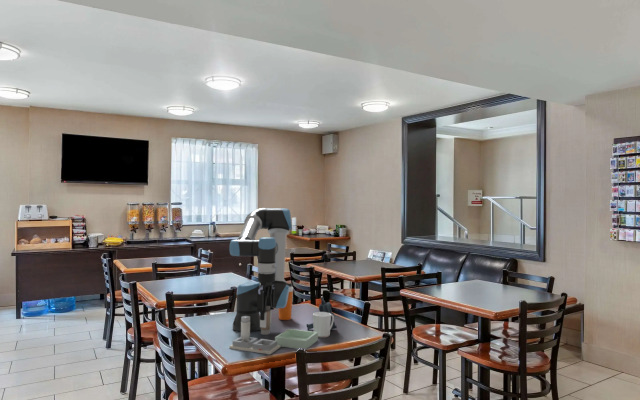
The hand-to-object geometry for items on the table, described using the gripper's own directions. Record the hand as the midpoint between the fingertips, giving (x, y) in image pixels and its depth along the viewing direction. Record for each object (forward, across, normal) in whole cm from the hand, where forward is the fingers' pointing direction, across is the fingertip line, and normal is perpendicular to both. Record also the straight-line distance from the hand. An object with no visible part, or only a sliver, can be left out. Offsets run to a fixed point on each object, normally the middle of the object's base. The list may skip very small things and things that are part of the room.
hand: (265, 325), depth 186 cm
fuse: (+9, 0, +10) cm, 14 cm away
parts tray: (+10, +14, -9) cm, 19 cm away
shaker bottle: (+11, +52, +15) cm, 55 cm away
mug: (+11, +31, -16) cm, 36 cm away
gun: (+11, +39, -12) cm, 42 cm away
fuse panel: (+10, 0, +5) cm, 11 cm away
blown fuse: (+3, 0, 0) cm, 3 cm away
